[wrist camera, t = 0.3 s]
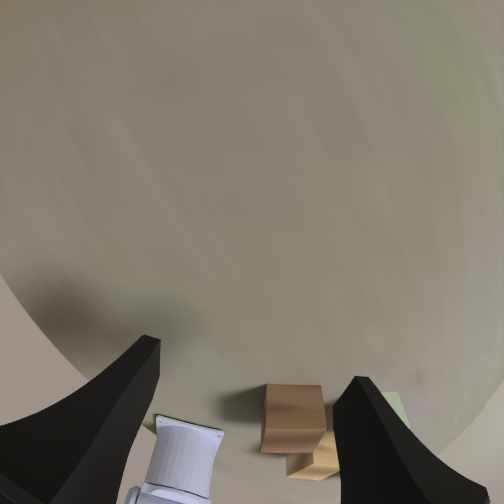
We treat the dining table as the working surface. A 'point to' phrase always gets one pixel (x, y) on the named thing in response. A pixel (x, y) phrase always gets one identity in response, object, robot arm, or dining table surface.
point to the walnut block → (292, 418)
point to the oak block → (314, 460)
